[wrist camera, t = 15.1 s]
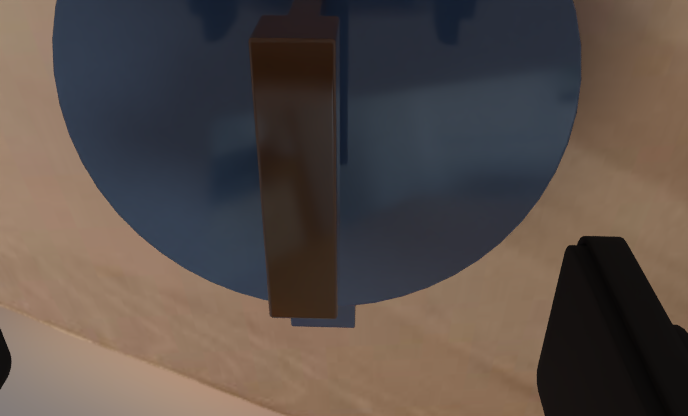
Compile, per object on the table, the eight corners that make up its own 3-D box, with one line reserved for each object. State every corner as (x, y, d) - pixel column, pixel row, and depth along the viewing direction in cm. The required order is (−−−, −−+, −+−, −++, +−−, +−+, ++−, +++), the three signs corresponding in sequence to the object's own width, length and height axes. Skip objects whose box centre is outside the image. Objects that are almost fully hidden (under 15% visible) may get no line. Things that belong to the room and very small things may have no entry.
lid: (624, -198, 15) (755, -200, 10) (528, 290, 23) (573, 431, 18) (8, -200, 15) (-173, -201, 10) (119, 280, 23) (48, 415, 18)
